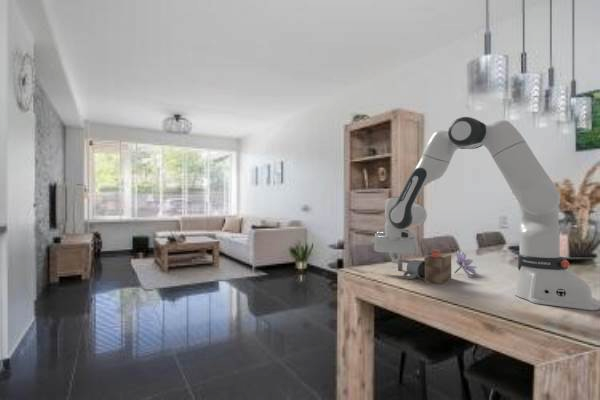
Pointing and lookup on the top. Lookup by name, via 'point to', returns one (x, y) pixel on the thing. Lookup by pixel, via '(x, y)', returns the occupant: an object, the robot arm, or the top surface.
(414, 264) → the ceramic mug
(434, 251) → the gauge button
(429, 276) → the brown rectangular block
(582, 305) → the robot arm
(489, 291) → the top surface
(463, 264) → the water lily
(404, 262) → the handrail
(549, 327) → the top surface
